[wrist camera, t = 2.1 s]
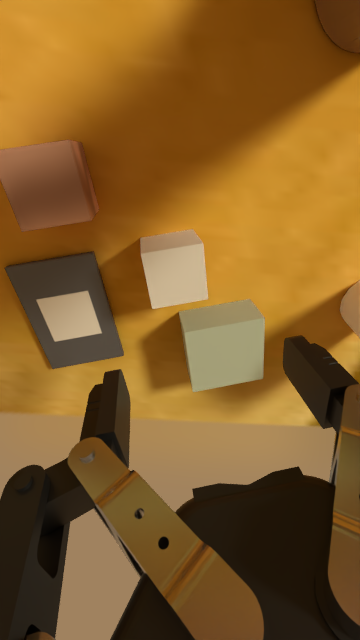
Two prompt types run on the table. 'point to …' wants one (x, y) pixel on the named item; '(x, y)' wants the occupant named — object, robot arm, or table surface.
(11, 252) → the table surface
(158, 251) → the cream cube
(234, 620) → the robot arm
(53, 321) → the card
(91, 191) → the terracotta cube
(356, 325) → the foam cup
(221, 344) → the green block
